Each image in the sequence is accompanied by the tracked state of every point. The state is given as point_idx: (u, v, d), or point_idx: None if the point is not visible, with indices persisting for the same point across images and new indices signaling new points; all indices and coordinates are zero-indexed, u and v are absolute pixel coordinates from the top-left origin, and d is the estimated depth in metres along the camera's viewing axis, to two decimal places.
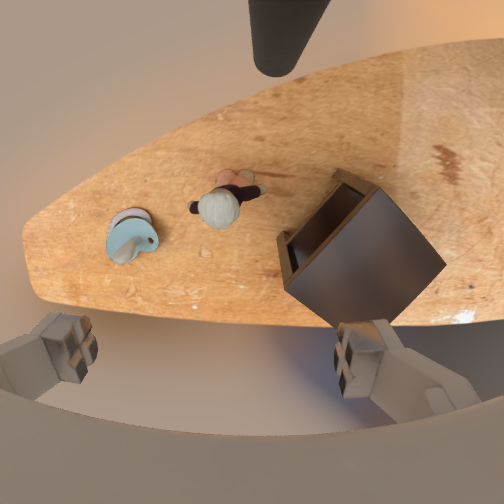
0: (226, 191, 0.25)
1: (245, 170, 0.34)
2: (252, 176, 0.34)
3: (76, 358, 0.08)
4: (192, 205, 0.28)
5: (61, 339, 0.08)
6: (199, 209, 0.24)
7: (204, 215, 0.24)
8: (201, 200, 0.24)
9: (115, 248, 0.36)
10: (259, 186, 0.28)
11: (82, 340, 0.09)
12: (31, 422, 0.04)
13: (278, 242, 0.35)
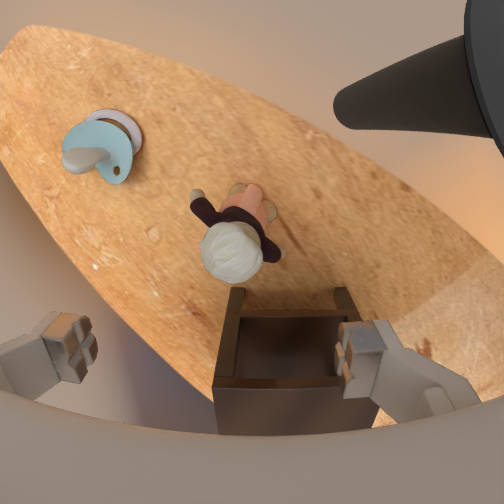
0: (259, 243, 0.16)
1: (273, 206, 0.26)
2: (273, 218, 0.26)
3: (76, 358, 0.08)
4: (200, 202, 0.19)
5: (61, 339, 0.08)
6: (212, 233, 0.16)
7: (211, 247, 0.15)
8: (226, 229, 0.15)
9: (77, 140, 0.23)
10: (281, 252, 0.21)
11: (82, 340, 0.09)
12: (31, 422, 0.04)
13: (231, 298, 0.28)
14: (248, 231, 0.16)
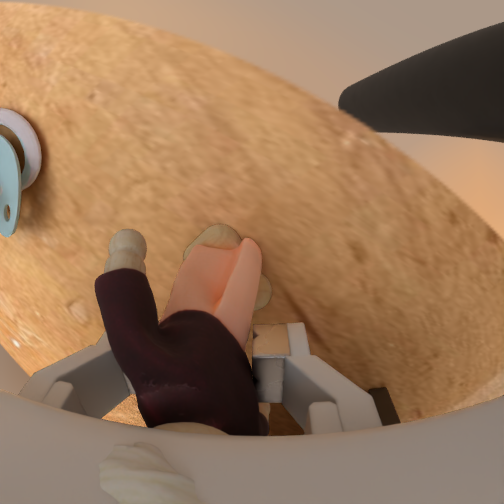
0: None
1: (268, 290, 0.14)
2: (259, 308, 0.14)
3: None
4: (122, 291, 0.06)
5: None
6: None
7: None
8: None
9: None
10: None
11: None
12: (31, 422, 0.04)
13: None
14: None
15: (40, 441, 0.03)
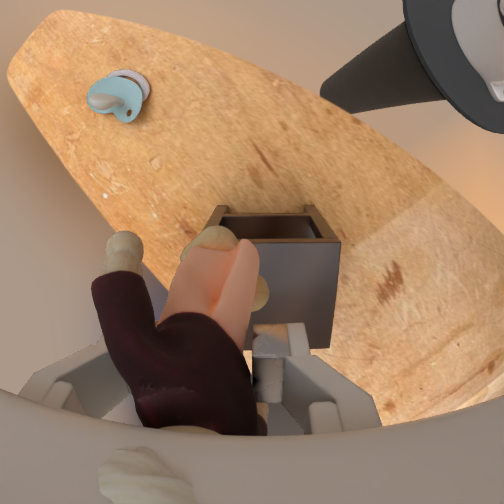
0: None
1: (266, 291, 0.14)
2: (256, 310, 0.14)
3: None
4: (119, 294, 0.06)
5: None
6: None
7: None
8: None
9: (98, 92, 0.29)
10: None
11: None
12: (31, 423, 0.04)
13: (216, 209, 0.34)
14: None
15: (40, 441, 0.03)
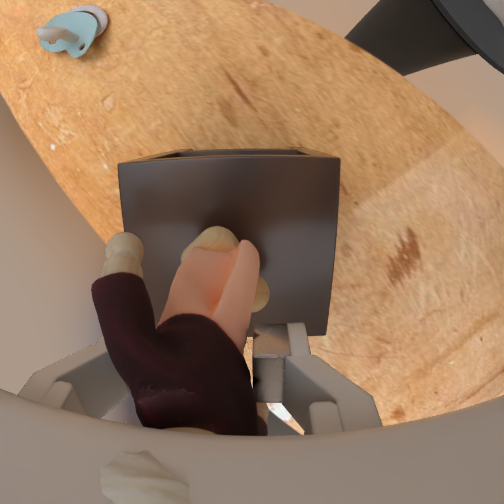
0: None
1: (266, 292, 0.14)
2: (257, 310, 0.14)
3: None
4: (119, 295, 0.06)
5: None
6: None
7: None
8: None
9: None
10: None
11: None
12: (32, 422, 0.04)
13: (175, 150, 0.25)
14: None
15: (40, 441, 0.03)
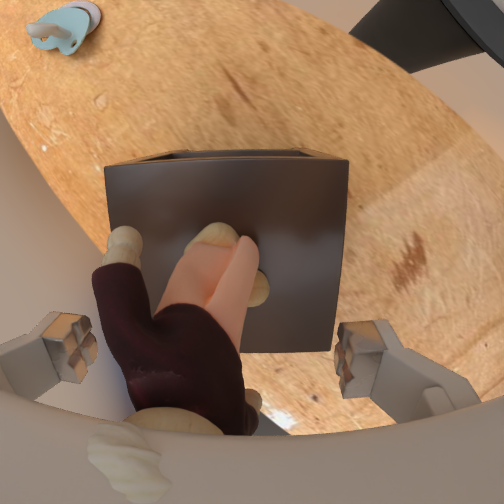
0: None
1: (266, 287, 0.14)
2: (257, 305, 0.15)
3: (76, 358, 0.08)
4: (116, 283, 0.06)
5: (61, 339, 0.08)
6: None
7: None
8: None
9: None
10: (258, 416, 0.09)
11: (82, 340, 0.09)
12: (31, 422, 0.04)
13: (170, 151, 0.23)
14: None
15: (40, 441, 0.03)
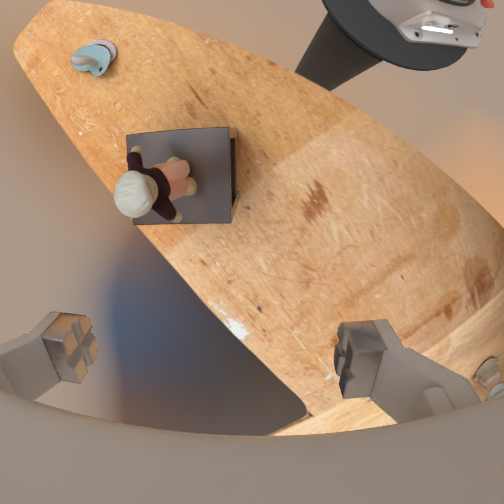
0: (154, 195, 0.21)
1: (194, 184, 0.31)
2: (190, 193, 0.31)
3: (76, 358, 0.08)
4: (134, 155, 0.23)
5: (61, 339, 0.08)
6: (126, 175, 0.20)
7: (121, 184, 0.20)
8: (134, 175, 0.20)
9: None
10: (177, 215, 0.26)
11: (82, 340, 0.09)
12: (31, 422, 0.04)
13: None
14: (150, 184, 0.21)
15: (40, 441, 0.03)
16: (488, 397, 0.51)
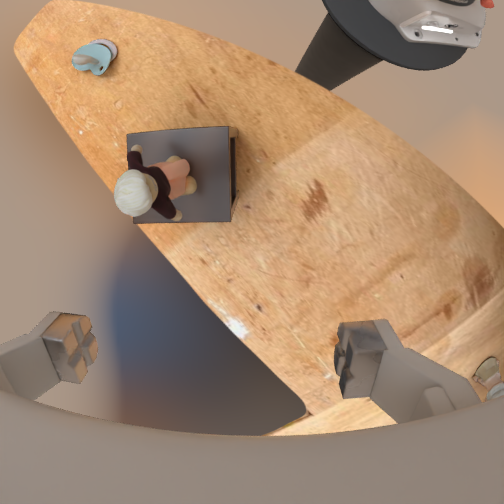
0: (154, 194, 0.21)
1: (194, 183, 0.31)
2: (190, 192, 0.31)
3: (76, 358, 0.08)
4: (134, 154, 0.23)
5: (61, 339, 0.08)
6: (126, 174, 0.20)
7: (121, 182, 0.20)
8: (135, 174, 0.20)
9: None
10: (177, 214, 0.26)
11: (82, 340, 0.09)
12: (31, 422, 0.04)
13: None
14: (150, 183, 0.21)
15: (40, 441, 0.03)
16: (487, 397, 0.51)
